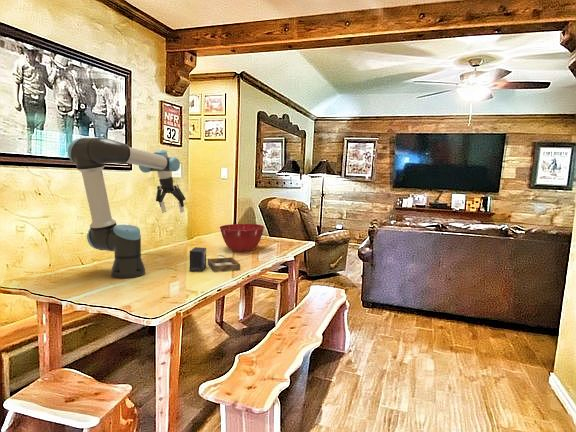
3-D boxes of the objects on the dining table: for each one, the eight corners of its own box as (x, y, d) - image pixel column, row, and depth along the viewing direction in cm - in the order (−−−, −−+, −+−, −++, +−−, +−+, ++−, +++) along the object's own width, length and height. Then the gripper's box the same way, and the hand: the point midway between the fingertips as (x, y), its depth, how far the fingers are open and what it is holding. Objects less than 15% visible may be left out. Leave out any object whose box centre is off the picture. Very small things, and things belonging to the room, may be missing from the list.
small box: (202, 271, 190) (201, 251, 189) (189, 271, 190) (188, 251, 189) (207, 266, 200) (206, 247, 199) (194, 266, 200) (194, 246, 199)
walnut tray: (213, 272, 189) (213, 266, 189) (207, 264, 205) (207, 258, 205) (240, 270, 194) (240, 264, 194) (232, 262, 210) (232, 257, 210)
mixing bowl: (242, 256, 226) (242, 231, 224) (210, 250, 243) (210, 226, 241) (273, 249, 248) (273, 226, 246) (241, 244, 265) (241, 222, 264)
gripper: (186, 175, 220) (194, 210, 226) (153, 176, 230) (161, 210, 236) (178, 178, 213) (186, 214, 219) (144, 179, 223) (152, 214, 229)
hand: (173, 212), depth 228 cm, fingers open, 13 cm apart
